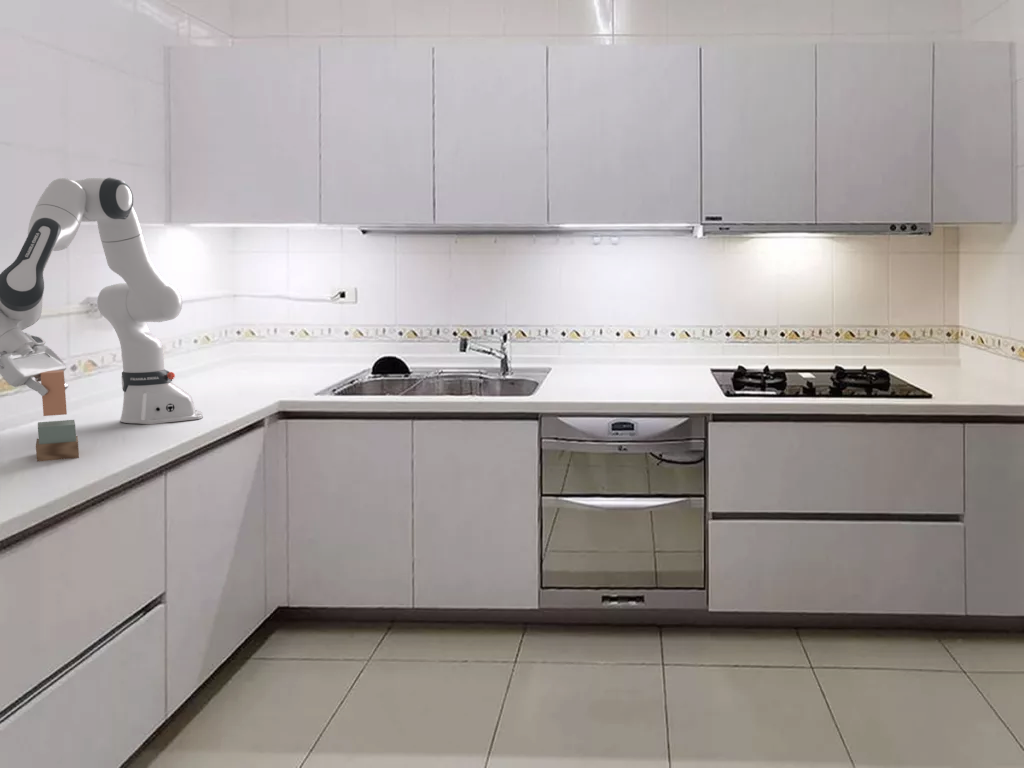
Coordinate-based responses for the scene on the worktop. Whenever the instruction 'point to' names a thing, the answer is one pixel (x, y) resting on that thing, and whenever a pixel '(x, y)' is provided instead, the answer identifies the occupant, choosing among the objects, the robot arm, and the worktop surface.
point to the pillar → (54, 393)
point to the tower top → (56, 431)
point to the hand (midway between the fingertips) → (56, 391)
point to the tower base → (57, 450)
